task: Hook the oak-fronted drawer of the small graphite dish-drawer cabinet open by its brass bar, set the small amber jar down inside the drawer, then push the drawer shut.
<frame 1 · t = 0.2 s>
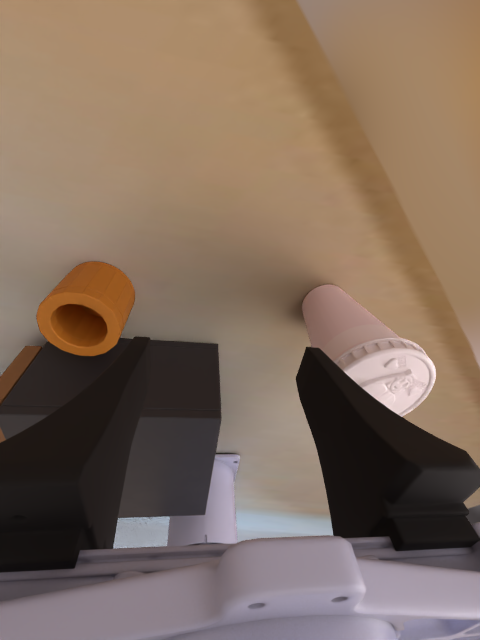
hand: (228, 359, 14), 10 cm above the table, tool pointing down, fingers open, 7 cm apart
jar: (101, 291, 22), on the table
drawer: (74, 429, 24), point 4 cm above the table, slide at 0.5 cm
smoothie: (323, 303, 25), on the table
cabinet: (141, 394, 28), on the table
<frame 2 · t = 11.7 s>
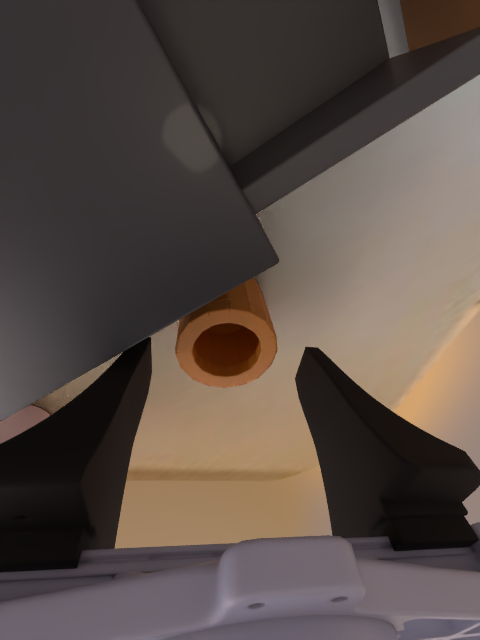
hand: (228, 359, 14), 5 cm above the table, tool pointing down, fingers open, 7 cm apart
jar: (223, 302, 18), on the table
smoothie: (28, 418, 22), on the table
cabinet: (37, 146, 13), on the table
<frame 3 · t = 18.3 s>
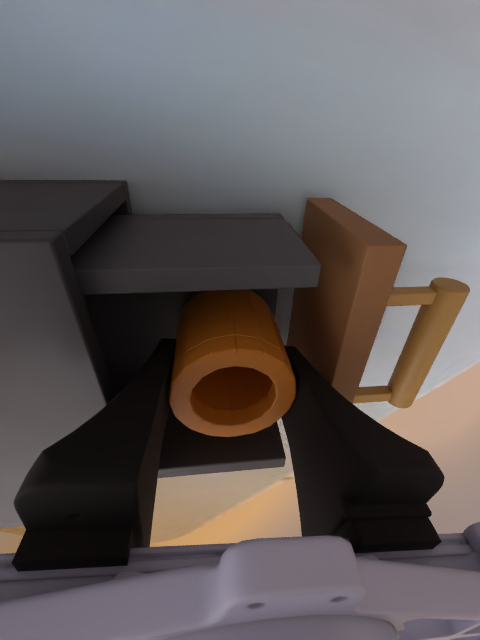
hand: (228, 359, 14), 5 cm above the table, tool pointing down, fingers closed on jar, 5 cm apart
jar: (226, 327, 15), point 3 cm above the table, touching gripper
drawer: (254, 347, 14), point 4 cm above the table, slide at 8.1 cm, touching gripper
cabinet: (25, 312, 16), on the table
when the fingers open (5 cm above the table, at t = 20.2 s): jar drops 2 cm, resting on drawer.
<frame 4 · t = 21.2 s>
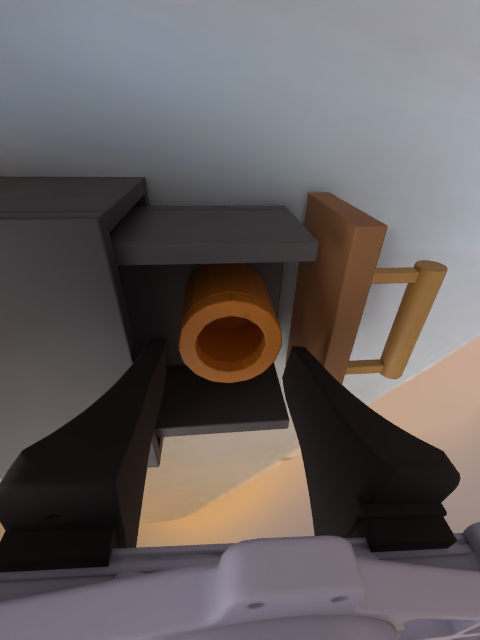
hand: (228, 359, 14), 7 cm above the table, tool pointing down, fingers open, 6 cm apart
jar: (226, 297, 18), point 2 cm above the table, touching drawer
drawer: (262, 322, 16), point 4 cm above the table, slide at 8.5 cm, touching jar
cabinet: (53, 294, 18), on the table
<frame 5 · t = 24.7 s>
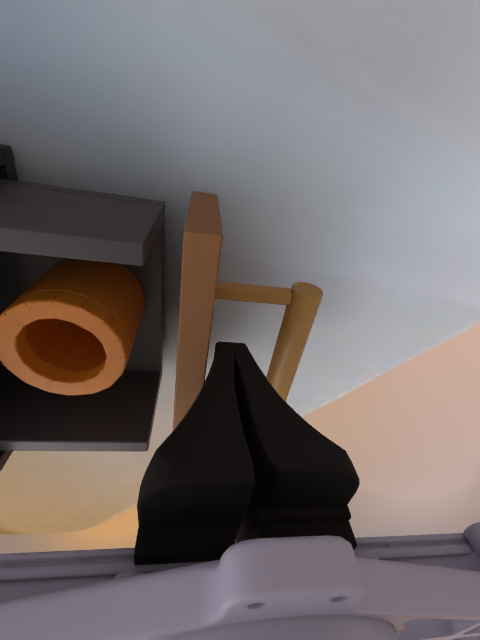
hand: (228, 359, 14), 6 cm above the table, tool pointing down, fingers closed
jar: (98, 296, 15), point 2 cm above the table, touching drawer
drawer: (127, 329, 14), point 4 cm above the table, slide at 8.0 cm, touching gripper, jar
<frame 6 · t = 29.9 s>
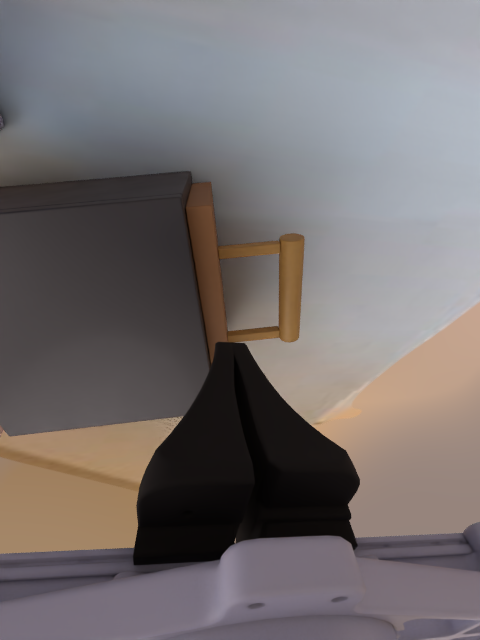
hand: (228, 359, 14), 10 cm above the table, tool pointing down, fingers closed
drawer: (164, 298, 19), point 4 cm above the table, slide at 0.0 cm, touching jar
cabinet: (115, 278, 22), on the table
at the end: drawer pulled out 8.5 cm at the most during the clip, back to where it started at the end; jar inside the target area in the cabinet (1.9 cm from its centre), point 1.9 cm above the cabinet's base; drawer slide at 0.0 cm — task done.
